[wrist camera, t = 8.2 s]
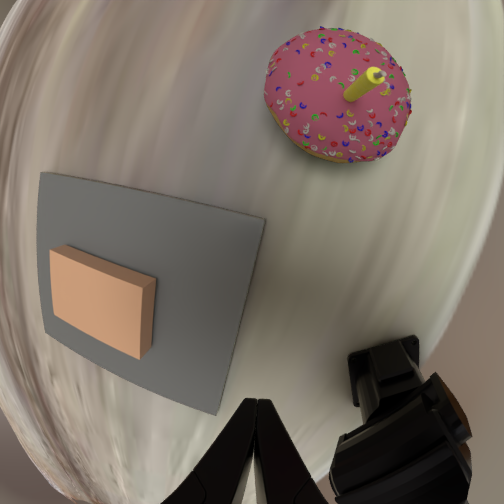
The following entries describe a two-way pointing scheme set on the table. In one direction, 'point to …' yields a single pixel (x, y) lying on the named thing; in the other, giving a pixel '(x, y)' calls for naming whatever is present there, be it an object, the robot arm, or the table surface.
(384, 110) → the cupcake
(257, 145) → the table surface
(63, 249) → the tile
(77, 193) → the board
